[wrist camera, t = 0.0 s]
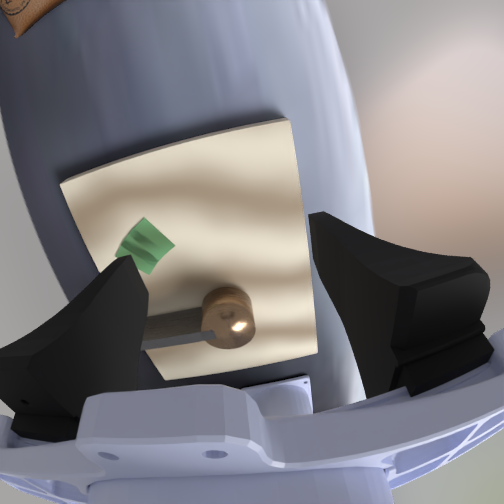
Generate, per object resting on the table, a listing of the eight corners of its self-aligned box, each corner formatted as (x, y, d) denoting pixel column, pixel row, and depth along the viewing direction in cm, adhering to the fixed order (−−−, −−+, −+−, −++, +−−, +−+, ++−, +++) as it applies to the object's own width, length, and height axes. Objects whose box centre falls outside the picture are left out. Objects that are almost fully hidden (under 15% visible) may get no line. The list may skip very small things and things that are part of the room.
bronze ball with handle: (246, 281, 24) (249, 306, 21) (256, 318, 26) (260, 343, 23) (115, 307, 24) (107, 332, 22) (134, 340, 26) (129, 364, 24)
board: (314, 344, 31) (317, 353, 30) (166, 371, 31) (165, 381, 30) (285, 117, 19) (290, 120, 18) (66, 178, 19) (59, 185, 18)
